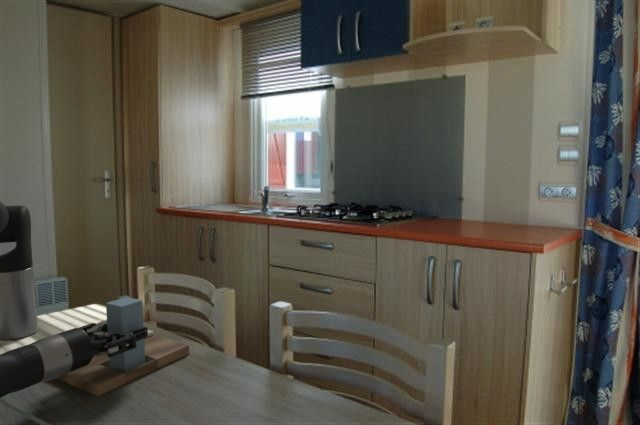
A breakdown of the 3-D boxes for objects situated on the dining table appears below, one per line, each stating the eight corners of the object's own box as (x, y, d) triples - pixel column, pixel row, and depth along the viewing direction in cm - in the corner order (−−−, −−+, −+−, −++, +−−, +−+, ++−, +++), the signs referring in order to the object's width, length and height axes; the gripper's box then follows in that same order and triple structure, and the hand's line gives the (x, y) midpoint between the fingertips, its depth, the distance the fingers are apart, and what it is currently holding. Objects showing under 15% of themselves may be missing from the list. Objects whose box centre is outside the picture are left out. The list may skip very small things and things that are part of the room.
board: (37, 373, 103) (36, 361, 102) (130, 338, 122) (129, 328, 122) (98, 398, 92) (97, 385, 91) (189, 355, 111) (188, 345, 111)
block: (110, 372, 102) (105, 303, 100) (130, 363, 106) (126, 296, 104) (125, 377, 99) (121, 306, 97) (145, 368, 103) (142, 300, 101)
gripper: (80, 342, 85) (155, 316, 99) (35, 328, 92) (111, 305, 106) (82, 383, 86) (156, 351, 100) (38, 365, 93) (113, 338, 107)
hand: (133, 327), depth 103 cm, fingers open, 8 cm apart
